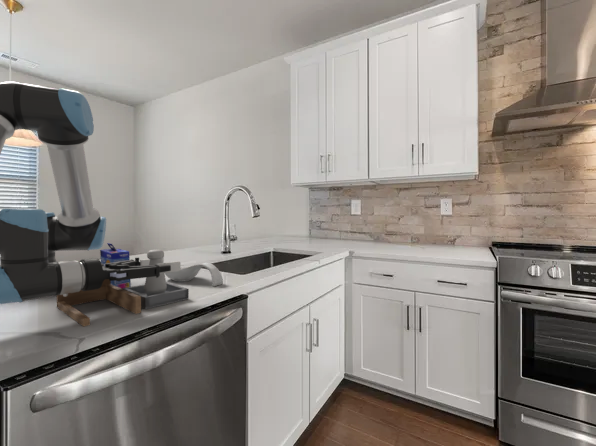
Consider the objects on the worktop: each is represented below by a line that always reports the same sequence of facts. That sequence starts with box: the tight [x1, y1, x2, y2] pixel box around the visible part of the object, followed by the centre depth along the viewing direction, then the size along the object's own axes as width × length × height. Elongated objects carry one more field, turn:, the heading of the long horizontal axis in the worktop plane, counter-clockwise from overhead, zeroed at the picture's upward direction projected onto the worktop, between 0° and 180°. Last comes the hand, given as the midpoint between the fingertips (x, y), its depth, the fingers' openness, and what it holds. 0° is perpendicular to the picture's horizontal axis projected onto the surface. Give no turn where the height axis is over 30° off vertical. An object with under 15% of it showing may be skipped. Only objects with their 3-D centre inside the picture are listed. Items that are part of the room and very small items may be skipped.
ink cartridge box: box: [99, 242, 132, 289], centre depth 97 cm, size 10×6×14 cm, turn 51°
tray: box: [122, 281, 190, 310], centre depth 87 cm, size 14×12×3 cm
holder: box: [56, 279, 142, 327], centre depth 77 cm, size 20×12×9 cm, turn 51°
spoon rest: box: [164, 262, 224, 287], centre depth 110 cm, size 24×12×7 cm, turn 62°
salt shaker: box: [144, 249, 167, 296], centre depth 87 cm, size 6×6×13 cm
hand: (170, 263), depth 90 cm, fingers open, 9 cm apart
